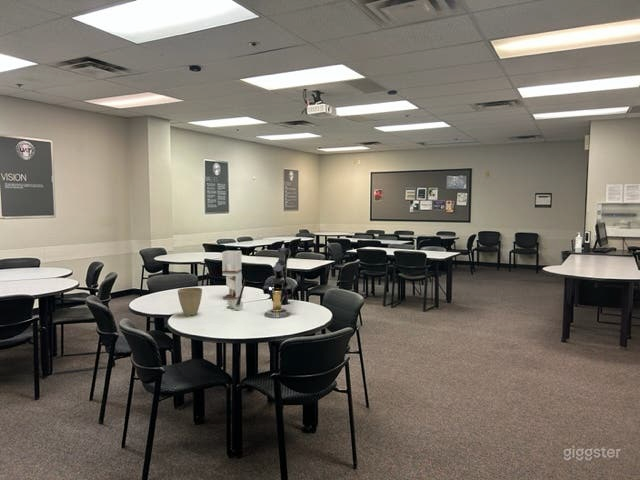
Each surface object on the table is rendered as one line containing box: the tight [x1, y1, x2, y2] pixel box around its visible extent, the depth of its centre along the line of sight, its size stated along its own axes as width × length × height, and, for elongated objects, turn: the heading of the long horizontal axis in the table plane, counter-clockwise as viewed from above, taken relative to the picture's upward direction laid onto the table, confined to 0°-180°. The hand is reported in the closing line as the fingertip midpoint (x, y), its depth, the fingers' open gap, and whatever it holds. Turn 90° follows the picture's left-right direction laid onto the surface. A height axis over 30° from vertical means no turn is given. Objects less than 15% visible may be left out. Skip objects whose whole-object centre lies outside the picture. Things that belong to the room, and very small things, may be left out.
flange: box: [263, 308, 291, 319], centre depth 283 cm, size 16×16×2 cm
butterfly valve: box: [226, 279, 247, 311], centre depth 302 cm, size 9×20×17 cm
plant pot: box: [177, 287, 203, 317], centre depth 282 cm, size 15×15×16 cm
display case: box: [221, 250, 243, 301], centre depth 333 cm, size 11×11×35 cm
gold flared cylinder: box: [272, 290, 283, 312], centre depth 282 cm, size 6×6×13 cm
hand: (276, 301), depth 281 cm, fingers closed on gold flared cylinder, 5 cm apart
